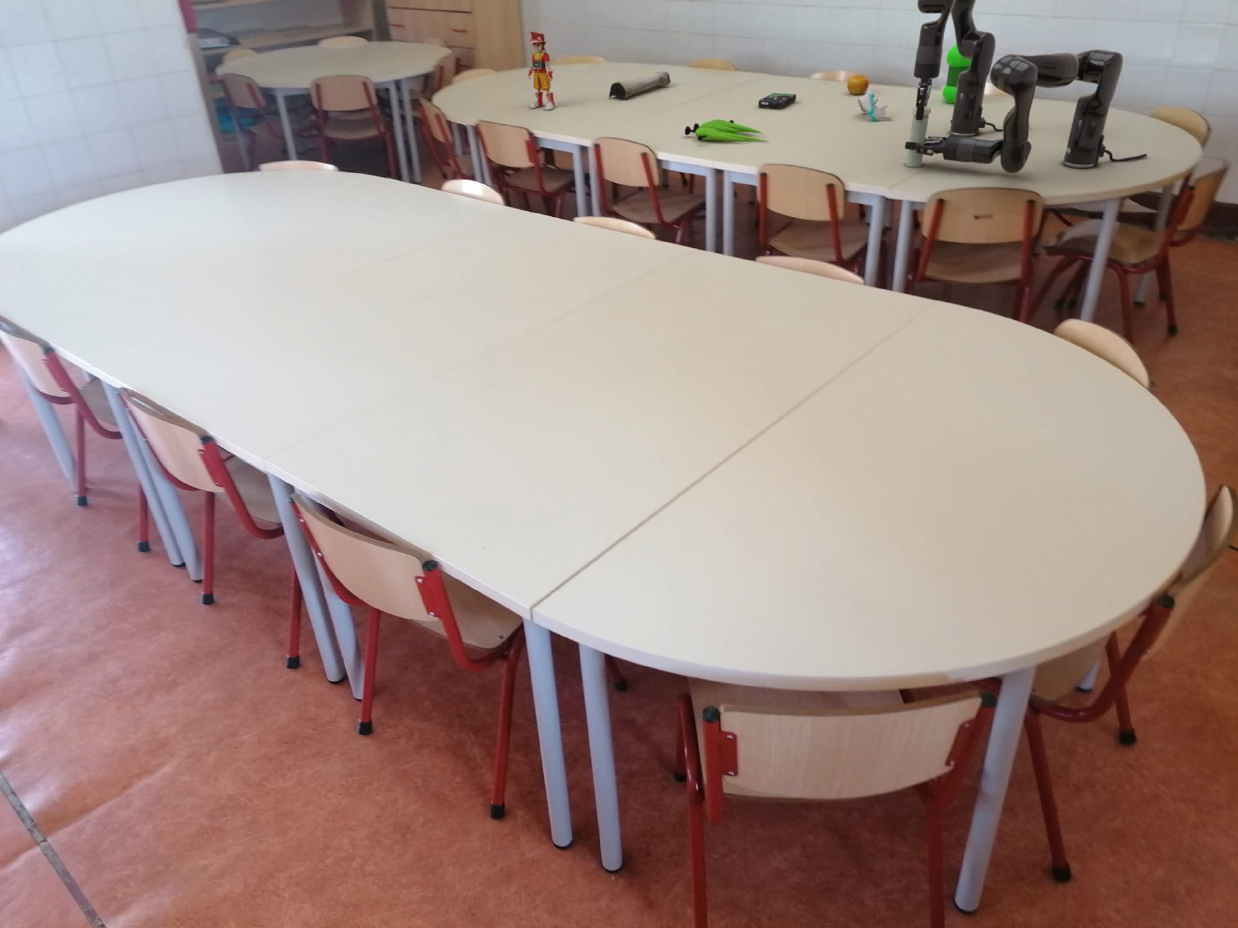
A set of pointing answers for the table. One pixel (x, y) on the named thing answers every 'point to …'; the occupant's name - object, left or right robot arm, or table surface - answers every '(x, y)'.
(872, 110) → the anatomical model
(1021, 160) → the right robot arm
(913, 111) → the lid
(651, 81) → the rolled mat
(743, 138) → the toy
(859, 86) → the fruit
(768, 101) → the disk drive
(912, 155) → the jar
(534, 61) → the toy
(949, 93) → the green dumbbell-shaped cylinder
